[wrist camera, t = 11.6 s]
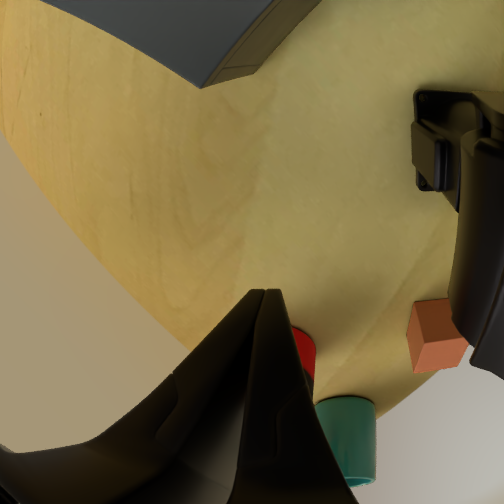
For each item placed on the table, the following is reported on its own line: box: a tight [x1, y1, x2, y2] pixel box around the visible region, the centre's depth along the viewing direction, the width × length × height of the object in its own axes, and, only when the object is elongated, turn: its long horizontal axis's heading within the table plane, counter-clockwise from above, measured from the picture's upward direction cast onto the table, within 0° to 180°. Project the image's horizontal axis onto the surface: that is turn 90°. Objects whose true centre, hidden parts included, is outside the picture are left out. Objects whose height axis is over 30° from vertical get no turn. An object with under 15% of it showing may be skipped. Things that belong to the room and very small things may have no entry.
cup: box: [314, 397, 376, 487], centre depth 32 cm, size 9×12×11 cm
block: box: [407, 298, 469, 373], centre depth 22 cm, size 4×4×4 cm
